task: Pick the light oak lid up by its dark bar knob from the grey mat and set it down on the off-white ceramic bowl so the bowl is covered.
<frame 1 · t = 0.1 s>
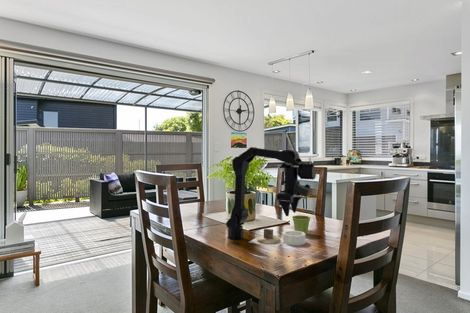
hand: (290, 214, 133), 15 cm above the table, tool pointing down, fingers open, 9 cm apart
plant pot: (301, 234, 155), on the table
bowl: (293, 243, 140), on the table
lid: (268, 240, 142), point 1 cm above the table, touching mat
mat: (268, 241, 142), on the table
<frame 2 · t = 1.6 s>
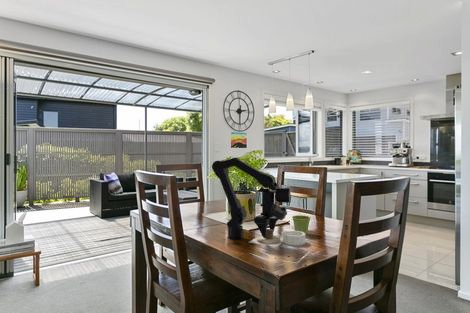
hand: (268, 235, 142), 3 cm above the table, tool pointing down, fingers open, 9 cm apart
nothing on the table moved.
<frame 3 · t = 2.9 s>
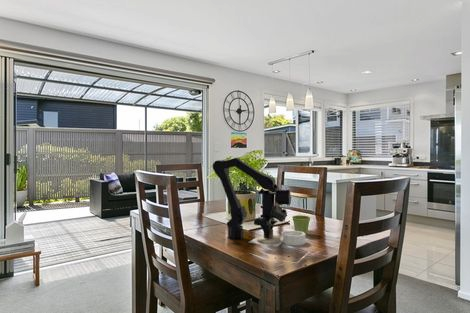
hand: (268, 237, 142), 2 cm above the table, tool pointing down, fingers closed on lid
lid: (268, 240, 142), point 1 cm above the table, touching gripper, mat
everything else where it was.
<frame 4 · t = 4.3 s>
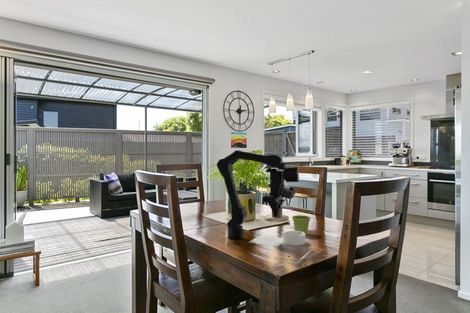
hand: (276, 215, 141), 12 cm above the table, tool pointing down, fingers closed on lid
lid: (276, 219, 141), point 11 cm above the table, touching gripper
everything else where it was.
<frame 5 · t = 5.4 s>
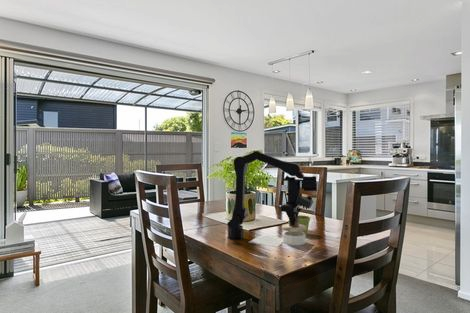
hand: (293, 224, 139), 8 cm above the table, tool pointing down, fingers closed on lid
lid: (293, 228, 139), point 7 cm above the table, touching gripper
everything else where it was.
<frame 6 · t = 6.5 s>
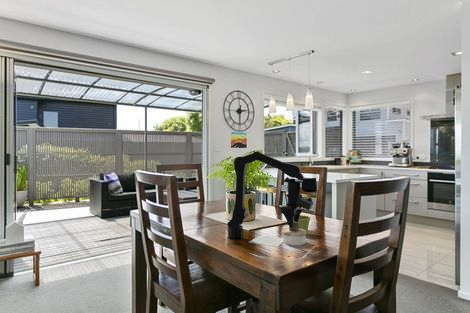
hand: (293, 226, 139), 8 cm above the table, tool pointing down, fingers open, 7 cm apart
lid: (294, 233, 139), point 4 cm above the table, touching bowl
everything else where it was.
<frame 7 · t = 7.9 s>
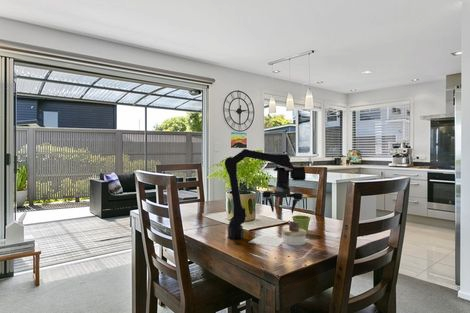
hand: (282, 212, 146), 13 cm above the table, tool pointing down, fingers open, 9 cm apart
nothing on the table moved.
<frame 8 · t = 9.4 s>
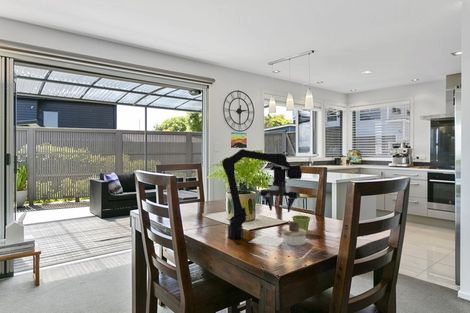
hand: (279, 211, 148), 13 cm above the table, tool pointing down, fingers open, 9 cm apart
nothing on the table moved.
at the end: lid 0.1 cm off-centre on the bowl, point 4.5 cm above the bowl's base; lid tilted 0°; the gripper is holding nothing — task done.
